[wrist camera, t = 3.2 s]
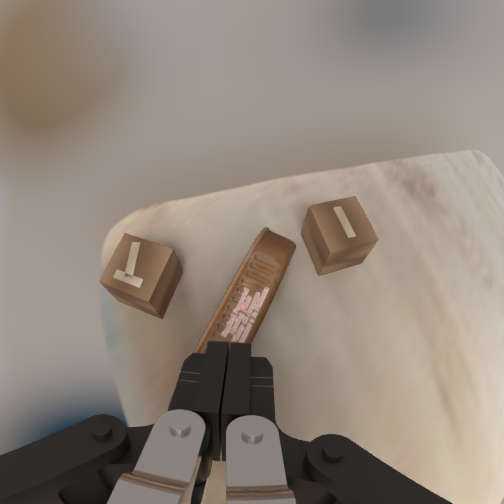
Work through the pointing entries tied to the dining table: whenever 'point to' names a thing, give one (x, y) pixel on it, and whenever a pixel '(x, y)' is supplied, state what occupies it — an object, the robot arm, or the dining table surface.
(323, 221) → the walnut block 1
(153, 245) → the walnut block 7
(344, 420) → the dining table surface
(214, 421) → the robot arm
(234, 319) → the tin
